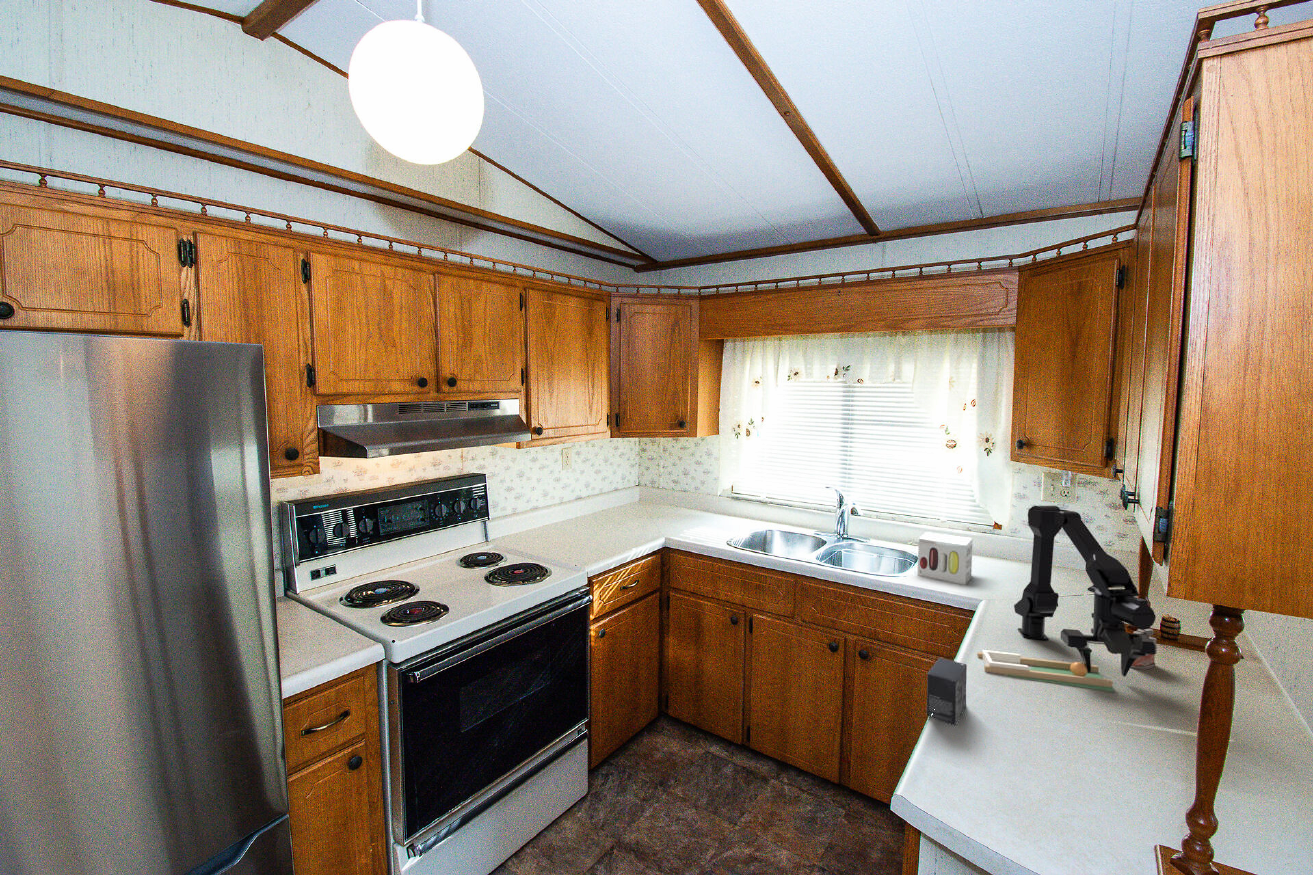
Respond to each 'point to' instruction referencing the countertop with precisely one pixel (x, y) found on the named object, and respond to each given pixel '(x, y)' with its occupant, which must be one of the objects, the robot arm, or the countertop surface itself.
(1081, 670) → the ball
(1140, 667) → the lighter
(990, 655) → the white u-shaped frame
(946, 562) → the supplement box
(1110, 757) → the countertop surface
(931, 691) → the small box
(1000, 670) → the track
